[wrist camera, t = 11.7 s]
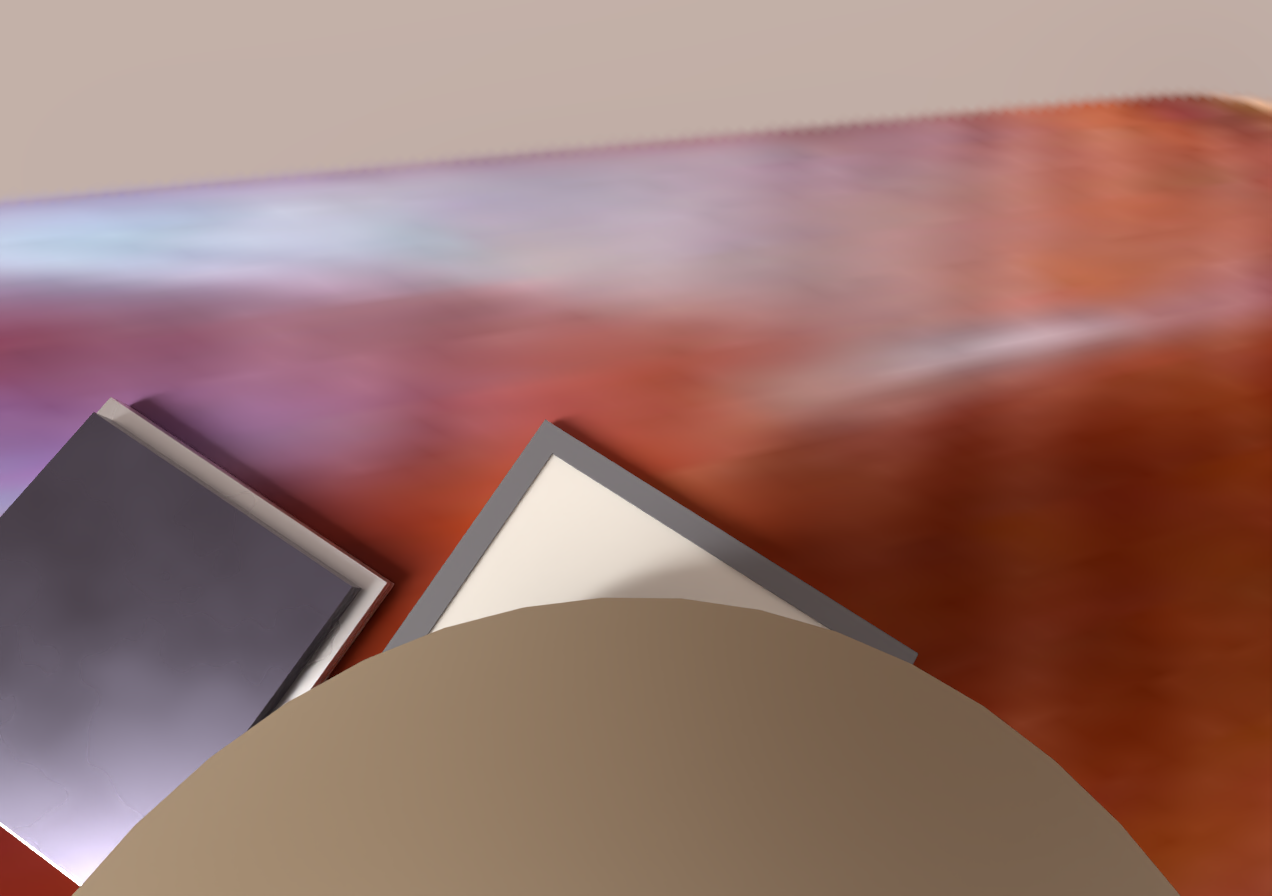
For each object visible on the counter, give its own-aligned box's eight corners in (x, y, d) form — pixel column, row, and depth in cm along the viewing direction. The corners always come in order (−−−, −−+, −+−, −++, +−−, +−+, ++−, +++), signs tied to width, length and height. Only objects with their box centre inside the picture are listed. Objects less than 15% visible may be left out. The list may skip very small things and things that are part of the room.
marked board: (909, 652, 16) (918, 653, 16) (684, 1100, 14) (687, 1117, 14) (547, 425, 17) (545, 419, 17) (279, 808, 15) (268, 814, 15)
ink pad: (394, 584, 16) (378, 580, 15) (156, 917, 14) (117, 943, 13) (127, 404, 17) (92, 388, 16) (-132, 699, 15) (-193, 705, 14)
